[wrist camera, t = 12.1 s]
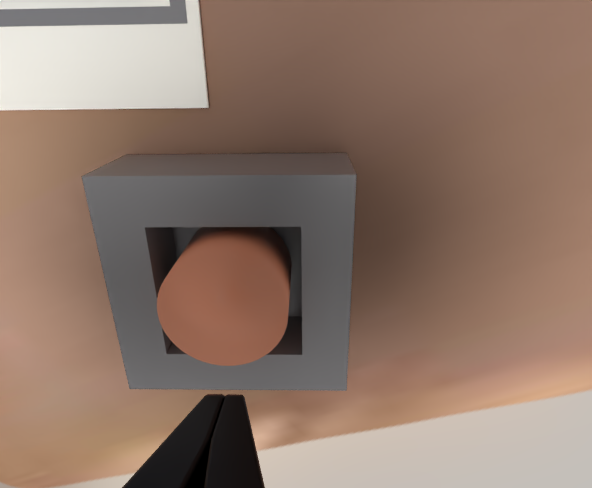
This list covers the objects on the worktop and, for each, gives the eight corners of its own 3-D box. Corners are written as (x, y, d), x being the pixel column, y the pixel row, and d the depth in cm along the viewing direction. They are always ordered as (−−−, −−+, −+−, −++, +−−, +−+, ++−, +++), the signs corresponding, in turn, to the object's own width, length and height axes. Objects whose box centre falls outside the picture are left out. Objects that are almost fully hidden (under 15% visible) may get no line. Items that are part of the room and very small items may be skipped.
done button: (290, 215, 18) (286, 253, 15) (292, 311, 20) (289, 366, 17) (179, 216, 18) (147, 253, 15) (191, 311, 20) (166, 365, 17)
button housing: (346, 152, 18) (356, 174, 15) (340, 337, 22) (346, 390, 19) (125, 154, 19) (81, 176, 15) (158, 336, 23) (129, 389, 19)
